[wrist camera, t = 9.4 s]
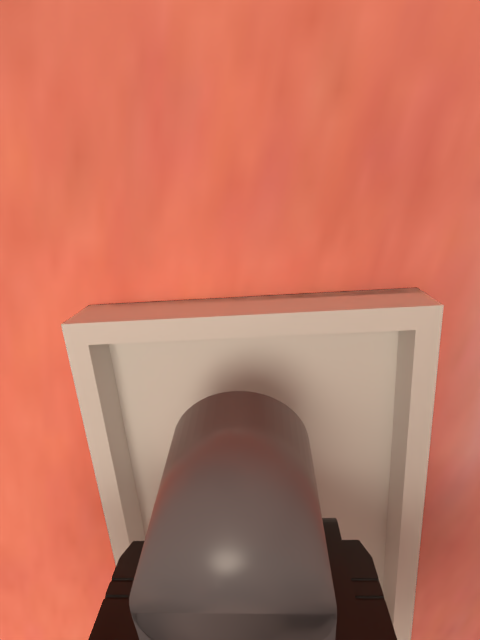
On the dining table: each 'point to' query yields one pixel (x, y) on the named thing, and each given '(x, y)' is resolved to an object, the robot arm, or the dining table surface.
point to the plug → (236, 530)
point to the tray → (283, 385)
